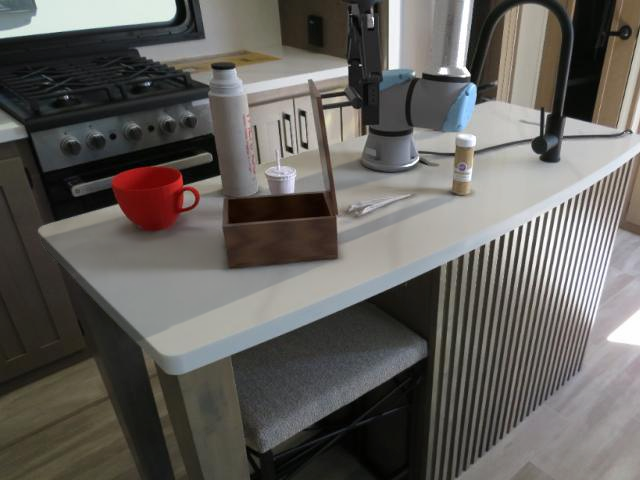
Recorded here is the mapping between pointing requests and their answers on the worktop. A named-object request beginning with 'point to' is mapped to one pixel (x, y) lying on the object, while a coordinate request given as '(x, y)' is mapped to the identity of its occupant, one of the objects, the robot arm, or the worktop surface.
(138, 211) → the ceramic cup
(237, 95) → the thermos bottle
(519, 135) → the worktop surface
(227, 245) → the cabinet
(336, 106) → the wooden panel
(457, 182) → the sprinkles bottle
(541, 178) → the worktop surface
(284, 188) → the smoothie
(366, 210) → the tweezers
